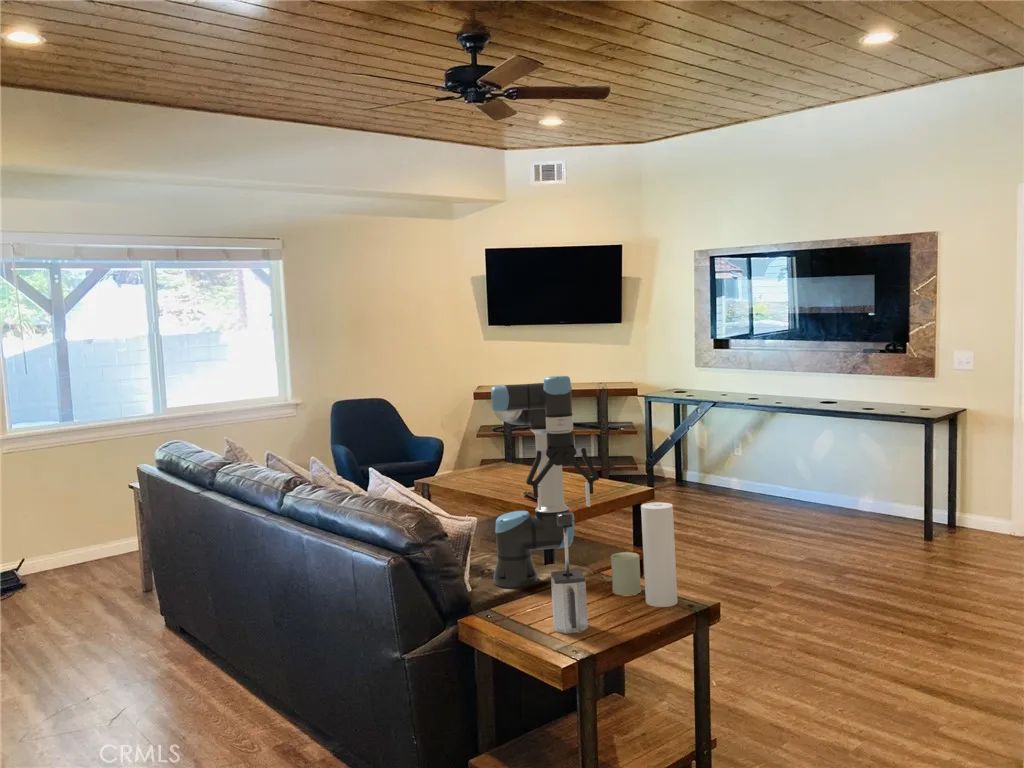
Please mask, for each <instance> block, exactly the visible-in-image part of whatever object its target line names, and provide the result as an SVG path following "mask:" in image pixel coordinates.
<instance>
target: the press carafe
mask: <svg viewBox="0 0 1024 768" xmlns="http://www.w3.org/2000/svg"><path fill="white" fill-rule="evenodd" d="M569 573H570V576H566V570H556V571H551V572H550V574H551V578H550V583H551V585H550V586H551V602H552V606H551V607H552V620H553V621H552V622H553V630H554V632H557V633H560V634H563V635H573V634H575V635H576V634H581V633H583V632H586V630H588V629H589V625H588V624H589V623H588V606H587V605H588V604H587V603H588V601H587V585H586V577H585V576H584V574H583V571H582V570H581V569H569Z"/></svg>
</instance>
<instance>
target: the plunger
mask: <svg viewBox="0 0 1024 768" xmlns="http://www.w3.org/2000/svg"><path fill="white" fill-rule="evenodd" d="M572 513H573V512H571V513H559V514H557V527H561V528H563V530H564V548H563V549H564V563H565V571H566V576H570V573H569V570H570V559H569V557H570V556H569V547H568V537H567V527H572V526H573V517H572Z"/></svg>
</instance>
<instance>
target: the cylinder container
mask: <svg viewBox="0 0 1024 768" xmlns="http://www.w3.org/2000/svg"><path fill="white" fill-rule="evenodd" d="M640 511H641V513H640V514H641V515H640V516H641V533H642V552H643V553H642V554H643V571H644V573H643V574H644V594H645V603H646V604H647V606H650V607H655V608H656V607H657V608H668V607H673V606H675V605H677V604H678V586H677V585H678V584H677V567H676V547H675V545H676V544H675V528H674V527H675V526H674V505H673V504H672V503H670V502H660V501H659V502H658V501H656V502H647V503H642V504H641V505H640Z"/></svg>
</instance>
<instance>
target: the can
mask: <svg viewBox="0 0 1024 768" xmlns="http://www.w3.org/2000/svg"><path fill="white" fill-rule="evenodd" d="M640 556H641V555H639V554H638V553H636V552H629V551H625V552H616V553H613V554H611V555H610V561H611V563H610V564H611V565H610V566H611V577H612V578H611V582H612V583H611V585H612V590H613V592H614V593H615V594H619V595H633V594H638V593H640V592H641V591H642V584H641V567H640V566H641V565H640V564H641V563H640ZM613 592H612V593H613ZM641 593H642V592H641ZM641 593H640V594H641ZM615 594H614V595H615ZM638 595H639V594H638Z"/></svg>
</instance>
